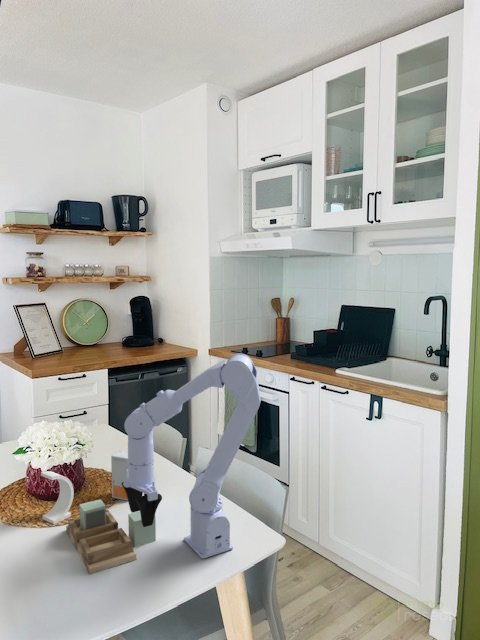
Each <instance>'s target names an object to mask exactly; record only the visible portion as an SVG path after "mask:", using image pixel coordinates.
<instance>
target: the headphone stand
mask: <svg viewBox="0 0 480 640" xmlns="http://www.w3.org/2000/svg"><path fill="white" fill-rule="evenodd" d="M40 476H41V477H43V478H45V479H48V480H50V481H55V480H57V482H58V483H59V484H58V485H59V494H58V498H57V500H56V502H55V504H54V505H53V507H52V508H51V509H50V510H49V511H48V512H47V513H45V514H43V515H42V520H45V521H47V522H48V523H50V524H52V525H55V524H57V523H59V522H62V521H63V520H66V519H68V518H70V517H72V512H70V511H69V510H70V508H71V506H72V504H73V500H74V495H75V493H74V492H75V491H74V490H75V489H74V485H73V483H72V481H71V480H70V479H69V478H68V477H66V476H64V475H61V474H60V473H56V472H54V471H50V470H47V471H41V472H40Z"/></svg>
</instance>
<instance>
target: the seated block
mask: <svg viewBox="0 0 480 640" xmlns="http://www.w3.org/2000/svg"><path fill="white" fill-rule="evenodd" d="M78 505H79V517H80V529H81V531H82V530H86V529H89V528H93V527H97V526H101V525H105V524H106V510H107V508H106V504H105V503H104V501H103V500H102V499H95V500H91V501H88V502H84V503H80V504H78Z"/></svg>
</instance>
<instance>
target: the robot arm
mask: <svg viewBox="0 0 480 640" xmlns="http://www.w3.org/2000/svg"><path fill="white" fill-rule="evenodd" d="M258 376H259V375H258V369H257V367H256V366H255V364H254V362H253V360H252V358H251V357H249V356H248V355H247V354H245V353H241V352H240V353H239V352H238V353H235V354H233V355H230V357H229V358H228V359H227V358H225V359H223V360H221V361H219V362H216V364H214V365H212V366H210V367H209V368H207V369H206V370H204V371H203V372H201V373H200V374H198V375H197V376H195V377H194V378H192V379H191V380H189V382H187V383H185V384H184V385H182V386H181V387H180V388H178V389H177V390H173V389H166V390H162V389H161V390H159V391H158V392H156V396H155V397H154V398H152V399H151V400H149V401H147V402H146V403H145V402H142V403H141V404H139V407H137V408H136V409H134V410H133V411H132V412H131V413H130V414H129V415H128V416H127V417H126V419H125V421H124V424H123V425H124V431H125V433H126V434H127V452H128V469H127V470H126V477H127V481H124V482H122V486H123V488H124V490H125V492H126V495H127V498H128V501H127V502H128V505H129V506H128V507H129V510H130V513H135V512H139V511H140V513H141V521H142V525H143V527H147V526H151V525H152V524H153V521H154V517H155V518H156V513H157V509H158V508H159V505H160V503H161V501H162V499H163V496H162V494H160V493H158V489H156V488H157V487H156V478H155V477H154V476H155V469H154V468H155V462H154V461H155V460H154V459H155V458H154V457H155V456H154V451H155V450H154V449H155V448H154V428H156V427H159V426H160V425H162V424H164V423H165V422H167V421H169V420H170V419H172V418H173V417H175V416H176V415H178V414H179V413H181V412H182V410H183V404H184V403H186V402H188V401H190V400H191V399H192V398H194V397H197V396H198V395H199V394H201V393H203V392H204V391H206V390H208V389H209V388H212V387H214V388H219V389H223V388H224V387H225V386H226V388H227V389H228V390H229V391H230V392H231V393H232V394H233V396H234V399H235V401H236V403H237V405H236V407H235V409H234V411H233V412H232V414H231V417H230V418H229V421H228V423H227V424H226V427H225V429H224V431H223V433H222V435H221V437H220V439H219V442H218V444H217V445H216V448H215V449H214V451H213V454H212V455H211V458H210V460H209V461H208V463H207V465H206V467H205V468H204V469H203V470H202V471H201V472H199V473H198V474H197V476H196V479H195V482H194V485H193V488H192V489H191V491H190V493H189V496H188V499H189V500H188V501H189V504H190V535H186V536H183V540H184V541H185V542H186V544H187V545H188V546H189V547H190V548H191V549H192V550H193V551H194V552H195V553H196V554H197V556H199V557H200V558H201V559H203V560H204V559H206V558H209V557H213V556H215V555H218V554H222V553H225V552H227V551H231V550H233V549H234V545H232V543H231V539H230V538H231V537H230V535H231V533H230V532H231V531H230V529H231V527H230V525H231V524H230V521H229V519H228V518H227V517H226V515H225V513H224V510H223V501H222V498H221V496H220V493H221V490H222V488H223V482H224V479H225V477H226V474H227V473H228V471H229V469H230V467H231V465H232V463H233V461H234V459H235V457H236V455H237V453H238V451H239V449H240V447H241V444H242V442H243V440H244V438H245V436H246V434H247V433H248V430H249V428H250V427H251V424H252V422H253V420H254V418H255V416H256V415H257V412H258V410H259V408H260V405H261V400H262V397H261V392H260V386H259V378H258Z"/></svg>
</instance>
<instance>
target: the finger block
mask: <svg viewBox="0 0 480 640" xmlns="http://www.w3.org/2000/svg"><path fill="white" fill-rule="evenodd" d="M127 515H128V516H127V517H128V519H127V520H128V523H127V524H128V537H129V538H130V540H131V541H132V542H133V547H138V546H142V545H145V544H146V545H147V544H149V543H152V542H156V540H157V539H156V537H157V536H156V535H157V533H156V526H157V525H156V516H155V517H154V521H153V524H152V525H151V526H147V527H143V525H142V521H141V513H140V511H137V512H133V513H132V512H130V513H128V514H127Z"/></svg>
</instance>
